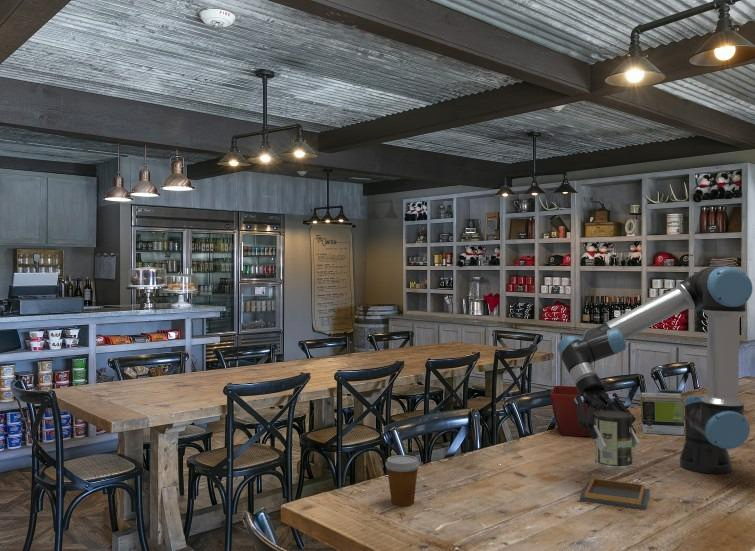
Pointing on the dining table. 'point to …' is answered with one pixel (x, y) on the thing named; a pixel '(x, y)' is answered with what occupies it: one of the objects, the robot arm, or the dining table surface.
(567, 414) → the plant pot
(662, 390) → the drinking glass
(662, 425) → the tea box
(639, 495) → the mount plate
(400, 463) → the disposable coffee cup
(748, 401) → the dining table surface
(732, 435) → the robot arm
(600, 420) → the coffee can
